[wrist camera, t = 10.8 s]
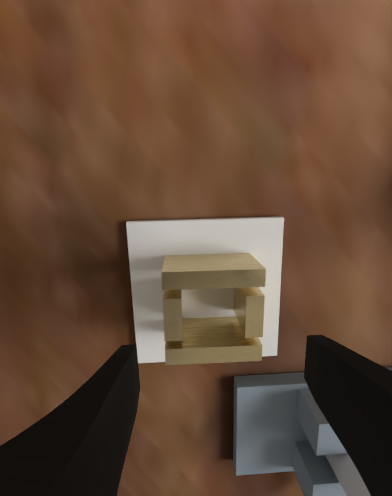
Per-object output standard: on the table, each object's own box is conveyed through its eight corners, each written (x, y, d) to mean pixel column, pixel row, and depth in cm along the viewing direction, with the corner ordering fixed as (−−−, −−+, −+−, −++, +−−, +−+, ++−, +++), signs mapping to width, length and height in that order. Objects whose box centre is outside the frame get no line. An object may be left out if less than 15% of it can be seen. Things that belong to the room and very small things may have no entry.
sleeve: (168, 332, 19) (165, 365, 15) (165, 255, 17) (161, 272, 14) (247, 329, 19) (261, 360, 15) (249, 252, 18) (266, 269, 14)
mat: (138, 357, 20) (137, 363, 19) (127, 220, 17) (126, 222, 17) (274, 350, 20) (276, 355, 19) (280, 216, 18) (283, 217, 17)
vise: (232, 493, 23) (260, 657, 15) (234, 376, 20) (268, 498, 12) (390, 481, 24) (497, 631, 16) (411, 365, 21) (552, 475, 13)
